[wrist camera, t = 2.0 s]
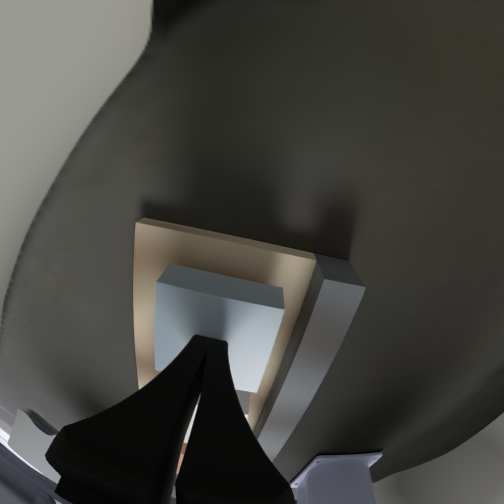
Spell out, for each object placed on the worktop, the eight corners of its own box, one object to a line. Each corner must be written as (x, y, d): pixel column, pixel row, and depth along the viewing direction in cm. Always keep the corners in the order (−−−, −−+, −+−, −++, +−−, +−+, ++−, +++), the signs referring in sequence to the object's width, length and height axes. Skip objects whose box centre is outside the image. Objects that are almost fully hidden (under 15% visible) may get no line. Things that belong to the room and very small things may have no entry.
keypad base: (260, 454, 21) (259, 479, 19) (149, 431, 21) (140, 454, 18) (348, 261, 14) (366, 287, 11) (143, 217, 14) (116, 234, 11)
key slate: (257, 368, 14) (256, 392, 12) (165, 347, 14) (155, 370, 12) (282, 287, 12) (284, 309, 10) (170, 263, 12) (156, 281, 10)
